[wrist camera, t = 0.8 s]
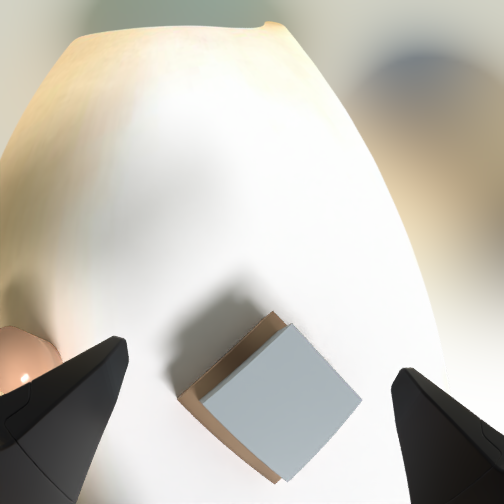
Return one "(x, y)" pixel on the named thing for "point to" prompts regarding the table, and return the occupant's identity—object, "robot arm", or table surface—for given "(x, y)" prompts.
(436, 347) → the table surface
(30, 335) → the peach domed cylinder
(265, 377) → the grey top slab
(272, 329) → the walnut base slab
